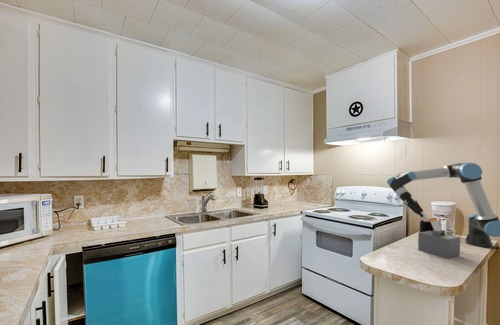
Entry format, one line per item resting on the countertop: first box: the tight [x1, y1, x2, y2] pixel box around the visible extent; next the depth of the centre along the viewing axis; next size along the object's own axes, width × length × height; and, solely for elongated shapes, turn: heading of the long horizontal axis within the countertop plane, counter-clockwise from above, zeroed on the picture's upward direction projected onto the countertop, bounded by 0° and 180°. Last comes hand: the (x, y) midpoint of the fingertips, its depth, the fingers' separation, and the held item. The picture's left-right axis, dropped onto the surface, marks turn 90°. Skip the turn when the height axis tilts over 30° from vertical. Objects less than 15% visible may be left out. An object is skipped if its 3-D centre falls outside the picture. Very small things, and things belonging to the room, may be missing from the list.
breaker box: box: [417, 229, 461, 260], centre depth 164 cm, size 14×18×15 cm
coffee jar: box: [419, 217, 434, 232], centre depth 185 cm, size 11×11×18 cm
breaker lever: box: [428, 217, 443, 234], centre depth 166 cm, size 6×2×11 cm, turn 117°
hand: (427, 220), depth 171 cm, fingers closed
